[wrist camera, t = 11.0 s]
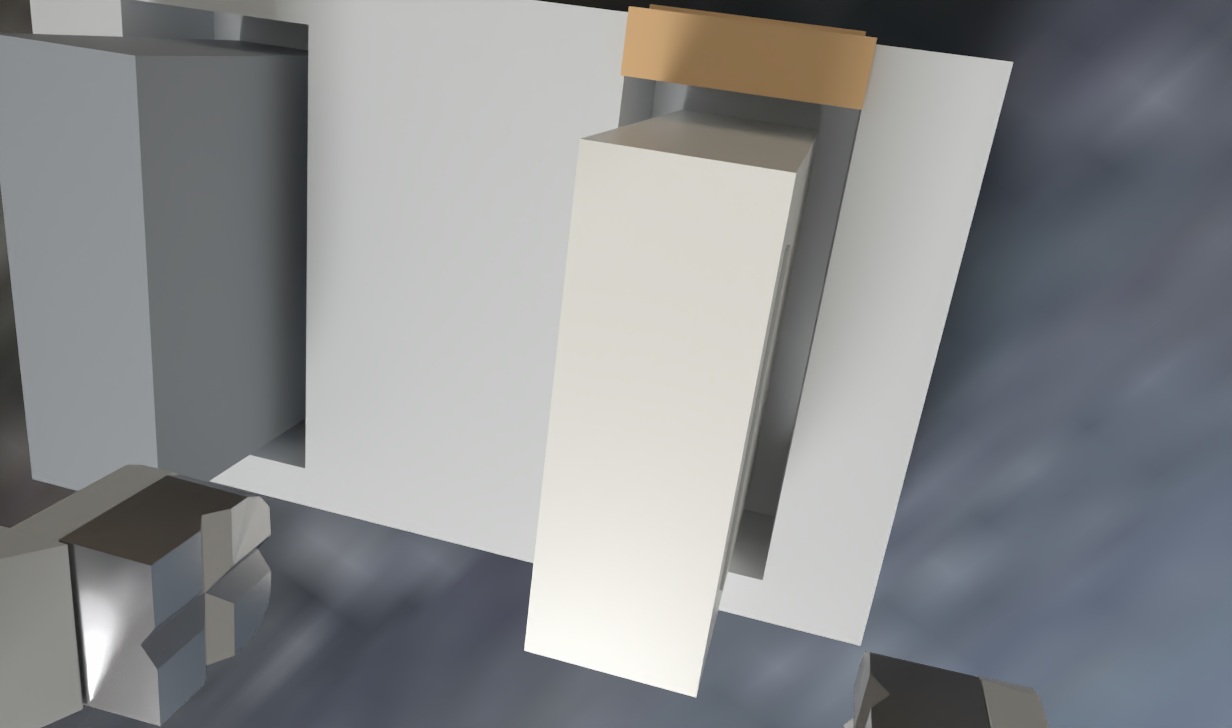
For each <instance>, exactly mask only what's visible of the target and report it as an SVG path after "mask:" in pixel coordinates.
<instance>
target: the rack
mask: <svg viewBox="0 0 1232 728" xmlns="http://www.w3.org/2000/svg"><path fill="white" fill-rule="evenodd" d="M30 7H31V18H32V29H33V34H23V33H0V185H1V195H2V204H3V213H4V222H5V231H6V241H7V250H8V259H9V268H10V277H11V287H12V296H13V305H14V314H15V323H16V333H17V342H18V351H19V360H20V369H21V379H22V388H23V397H24V406H25V415H26V425H27V434H28V443H29V452H30V461H31V471H32V479H34V480H38V481H42V482H46V483H49V484H53V485H57V486H61V487H65V488H68V489H72V490H76V491H79V490H81V489H83V488H85V487H86V486H88V485H90V484H92V483H94V482H96V481H98V480H99V479H101V478H103V477H105V476H107V475H109V474H110V473H112V472H114V471H116V470H118V469H120V468H121V467H123V466H125V465H127V464H131V465H146V466H150V467H154V468H158V469H162V470H166V471H170V472H174V473H176V474H178V475H185V476H188V477H192V478H196V479H199V480H203V481H206V482H208V481H211V482H215V483H219V484H223V485H227V486H231V487H235V488H239V489H243V490H247V491H251V492H255V493H259V494H263V495H267V496H270V497H274V498H278V499H282V500H286V501H290V502H294V503H298V504H302V505H306V506H310V507H314V508H318V509H322V510H326V511H330V512H334V513H338V514H342V515H346V516H350V517H353V518H357V519H361V520H365V521H369V522H373V523H377V524H381V525H385V526H389V527H393V528H397V529H401V530H405V531H409V532H413V533H417V534H421V535H425V536H429V537H433V538H436V539H440V540H444V541H448V542H452V543H456V544H460V545H464V546H468V547H472V548H476V549H480V550H484V551H488V552H492V553H496V554H500V555H504V556H508V557H512V558H516V559H519V560H523V561H527V562H531V563H534V555H535V546H536V537H537V527H538V518H539V509H540V500H541V490H542V481H543V472H544V463H545V453H546V444H547V435H548V426H549V416H550V407H551V398H552V389H553V379H554V370H555V361H556V352H557V343H558V333H559V324H560V315H561V306H562V296H563V287H564V278H565V269H566V259H567V250H568V241H569V232H570V222H571V213H572V204H573V195H574V185H575V176H576V167H577V158H578V149H579V139H580V138H584V137H588V136H591V135H595V134H598V133H602V132H605V131H609V130H612V129H616V128H619V127H623V126H626V125H630V124H634V123H637V122H641V121H644V120H648V119H651V118H655V117H658V116H662V115H665V114H669V113H672V112H676V111H679V110H687V111H694V112H701V113H707V114H714V115H721V116H728V117H734V118H741V119H748V120H755V121H761V122H768V123H775V124H781V125H788V126H795V127H802V128H808V129H815V130H820V131H819V136H818V141H817V146H816V151H815V156H814V161H813V166H812V171H811V177H810V182H809V187H808V192H807V197H806V202H805V207H804V212H803V217H802V222H801V227H800V232H799V237H798V243H797V248H796V253H795V258H794V263H793V268H792V273H791V278H790V283H789V288H788V293H787V298H786V304H785V309H784V314H783V319H782V324H781V329H780V334H779V339H778V344H777V349H776V354H775V359H774V365H773V370H772V375H771V380H770V385H769V390H768V395H767V400H766V405H765V410H764V415H763V420H762V426H761V431H760V436H759V441H758V446H757V451H756V456H755V461H754V466H753V471H752V476H751V481H750V487H749V491H748V495H747V499H746V503H745V506H744V510H743V514H742V518H741V522H740V526H739V530H738V534H737V538H736V542H735V546H734V550H733V554H732V558H731V562H730V566H729V570H728V574H727V578H726V581H725V585H724V589H723V593H722V597H721V601H720V605H719V609H718V610H721V611H725V612H729V613H733V614H737V615H741V616H745V617H749V618H753V619H757V620H761V621H765V622H768V623H772V624H776V625H780V626H784V627H788V628H792V629H796V630H800V631H804V632H808V633H812V634H816V635H820V636H824V637H828V638H832V639H836V640H840V641H844V642H848V643H851V644H855V645H859V646H861V642H862V638H863V635H864V631H865V627H866V623H867V619H868V615H869V612H870V608H871V604H872V600H873V596H874V593H875V589H876V585H877V581H878V577H879V573H880V570H881V566H882V562H883V558H884V554H885V551H886V547H887V543H888V539H889V535H890V531H891V528H892V524H893V520H894V516H895V512H896V509H897V505H898V501H899V497H900V493H901V489H902V486H903V482H904V478H905V474H906V470H907V467H908V463H909V459H910V455H911V451H912V447H913V444H914V440H915V436H916V432H917V428H918V425H919V421H920V417H921V413H922V409H923V405H924V402H925V398H926V394H927V390H928V386H929V383H930V379H931V375H932V371H933V367H934V363H935V360H936V356H937V352H938V348H939V344H940V341H941V337H942V333H943V329H944V325H945V321H946V318H947V314H948V310H949V306H950V302H951V299H952V295H953V291H954V287H955V283H956V279H957V276H958V272H959V268H960V264H961V260H962V257H963V253H964V249H965V245H966V241H967V237H968V234H969V230H970V226H971V222H972V218H973V215H974V211H975V207H976V203H977V199H978V195H979V192H980V188H981V184H982V180H983V176H984V173H985V169H986V165H987V161H988V157H989V153H990V150H991V146H992V142H993V138H994V134H995V131H996V127H997V123H998V119H999V115H1000V111H1001V108H1002V104H1003V100H1004V96H1005V92H1006V89H1007V85H1008V81H1009V77H1010V73H1011V69H1012V66H1013V62H1009V61H1002V60H994V59H986V58H978V57H971V56H963V55H955V54H947V53H940V52H932V51H924V50H916V49H909V48H901V47H893V46H885V45H878V44H876V41H877V38H875V37H867V36H865V35H866V31H859V30H851V29H843V28H835V27H827V26H819V25H811V24H803V23H796V22H788V21H780V20H772V19H764V18H756V17H748V16H740V15H732V14H724V13H717V12H709V11H701V10H693V9H685V8H677V7H669V6H661V5H654V4H650V6H649V9H648V8H640V7H632V6H629V9H628V12H622V11H614V10H607V9H599V8H591V7H583V6H576V5H568V4H560V3H552V2H545V1H537V0H30Z"/></svg>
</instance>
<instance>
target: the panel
mask: <svg viewBox="0 0 1232 728" xmlns="http://www.w3.org/2000/svg"><path fill="white" fill-rule="evenodd" d="M819 131H820V130H815V129H808V128H802V127H795V126H788V125H781V124H775V123H768V122H761V121H755V120H748V119H741V118H734V117H728V116H721V115H714V114H707V113H701V112H694V111H687V110H679V111H676V112H672V113H669V114H665V115H662V116H658V117H655V118H651V119H648V120H644V121H641V122H637V123H634V124H630V125H626V126H623V127H619V128H616V129H612V130H609V131H605V132H602V133H598V134H595V135H591V136H588V137H584V138H580V139H579V149H578V158H577V167H576V176H575V185H574V195H573V204H572V213H571V222H570V232H569V241H568V250H567V259H566V269H565V278H564V287H563V296H562V306H561V315H560V324H559V333H558V343H557V352H556V361H555V370H554V379H553V389H552V398H551V407H550V416H549V426H548V435H547V444H546V453H545V463H544V472H543V481H542V490H541V500H540V509H539V518H538V527H537V537H536V546H535V555H534V564H533V574H532V583H531V592H530V601H529V610H528V620H527V629H526V638H525V647H524V651H528V652H531V653H535V654H539V655H542V656H546V657H550V658H553V659H557V660H561V661H564V662H568V663H572V664H575V665H579V666H583V667H586V668H590V669H594V670H597V671H601V672H605V673H608V674H612V675H616V676H619V677H623V678H627V679H630V680H634V681H638V682H641V683H645V684H649V685H652V686H656V687H660V688H663V689H667V690H671V691H674V692H678V693H682V694H685V695H689V696H693V697H696V696H697V692H698V688H699V684H700V680H701V676H702V672H703V668H704V664H705V660H706V656H707V653H708V649H709V645H710V641H711V637H712V633H713V629H714V625H715V621H716V617H717V613H718V609H719V605H720V601H721V597H722V593H723V589H724V585H725V581H726V578H727V574H728V570H729V566H730V562H731V558H732V554H733V550H734V546H735V542H736V538H737V534H738V530H739V526H740V522H741V518H742V514H743V510H744V506H745V503H746V499H747V495H748V491H749V487H750V481H751V476H752V471H753V466H754V461H755V456H756V451H757V446H758V441H759V436H760V431H761V426H762V420H763V415H764V410H765V405H766V400H767V395H768V390H769V385H770V380H771V375H772V370H773V365H774V359H775V354H776V349H777V344H778V339H779V334H780V329H781V324H782V319H783V314H784V309H785V304H786V298H787V293H788V288H789V283H790V278H791V273H792V268H793V263H794V258H795V253H796V248H797V243H798V237H799V232H800V227H801V222H802V217H803V212H804V207H805V202H806V197H807V192H808V187H809V182H810V177H811V171H812V166H813V161H814V156H815V151H816V146H817V141H818V136H819Z"/></svg>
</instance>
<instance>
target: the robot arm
mask: <svg viewBox="0 0 1232 728" xmlns="http://www.w3.org/2000/svg"><path fill="white" fill-rule="evenodd" d="M270 535H271V531H270V510H269V506H268V505H267V504H266V503H265V501H264V500H263V499H262V498H261V497H260V496H257V495H253V494H250V493H246V492H242V491H239V490H235V489H232V488H228V487H224V486H221V485H217V484H214V483H210V482H206V481H203V480H199V479H196V478H192V477H188V476H185V475H178V474H176V473H174V472H170V471H166V470H162V469H158V468H154V467H150V466H146V465H131V464H127V465H125V466H123V467H121V468H120V469H118V470H116V471H114V472H112V473H110V474H109V475H107V476H105V477H103V478H101V479H99V480H98V481H96V482H94V483H92V484H90V485H88V486H86V487H85V488H83V489H81V490H79V491H77V492H75V493H74V494H72V495H70V496H68V497H66V498H64V499H63V500H61V501H59V502H57V503H55V504H53V505H52V506H50V507H48V508H46V509H44V510H42V511H40V512H39V513H37V514H35V515H33V516H31V517H29V518H28V519H26V520H24V521H22V522H20V523H18V524H17V525H15V526H13V527H11V528H7V527H3V526H0V728H42V727H44V726H46V725H48V724H51V723H53V722H55V721H57V720H59V719H62V718H64V717H66V716H68V715H71V714H73V713H75V712H77V711H80V710H82V709H83V705H87V706H90V707H94V708H97V709H101V710H105V711H108V712H112V713H115V714H119V715H123V716H126V717H130V718H133V719H137V720H140V721H144V722H148V723H151V724H155V725H158V726H161V725H162V724H163V723H164V722H165V721H166V720H167V719H168V718H169V717H170V716H171V715H173V714H174V713H175V712H176V711H177V710H178V709H179V708H180V707H181V706H182V705H183V704H184V703H185V702H186V701H187V700H188V699H189V698H191V697H192V696H193V695H194V694H195V693H196V692H197V691H198V690H199V689H200V688H201V687H202V686H203V685H204V684H205V683H206V675H207V665H209V664H212V663H215V662H217V661H220V660H223V659H226V658H229V657H232V656H235V655H236V654H237V653H238V652H239V651H240V650H241V649H242V648H243V647H244V646H245V645H246V644H247V643H248V642H249V640H250V639H251V638H252V637H253V635H254V634H255V632H256V630H257V628H258V626H259V624H260V622H261V621H262V619H263V617H264V615H265V613H266V609H267V605H268V601H269V596H270V592H271V570H270V568H269V567H268V565H267V563H266V562H265V560H264V558H263V557H262V555H261V553H260V552H259V550H258V548H259V547H260V546H261V545H262V544H263V543H264V542H265V540H266V539H267V538H268V537H269V536H270ZM843 728H1050V727H1049V724H1048V721H1047V718H1046V714H1045V711H1044V708H1043V704H1042V701H1041V698H1040V695H1039V694H1038V693H1037V692H1036V691H1035V690H1034V689H1033V688H1030V687H1025V686H1021V685H1016V684H1011V683H1007V682H1002V681H998V680H993V679H988V678H984V677H979V676H971V675H967V674H963V673H958V672H954V671H950V670H945V669H941V668H937V667H932V666H928V665H924V664H920V663H915V662H911V661H907V660H902V659H898V658H894V657H889V656H885V655H881V654H877V653H872V652H868V651H865V653H864V655H863V658H862V661H861V663H860V666H859V670H858V674H857V677H856V681H855V684H854V714H853V719H852V720H850V721H849V722H847V723H846V724H844V726H843Z"/></svg>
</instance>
